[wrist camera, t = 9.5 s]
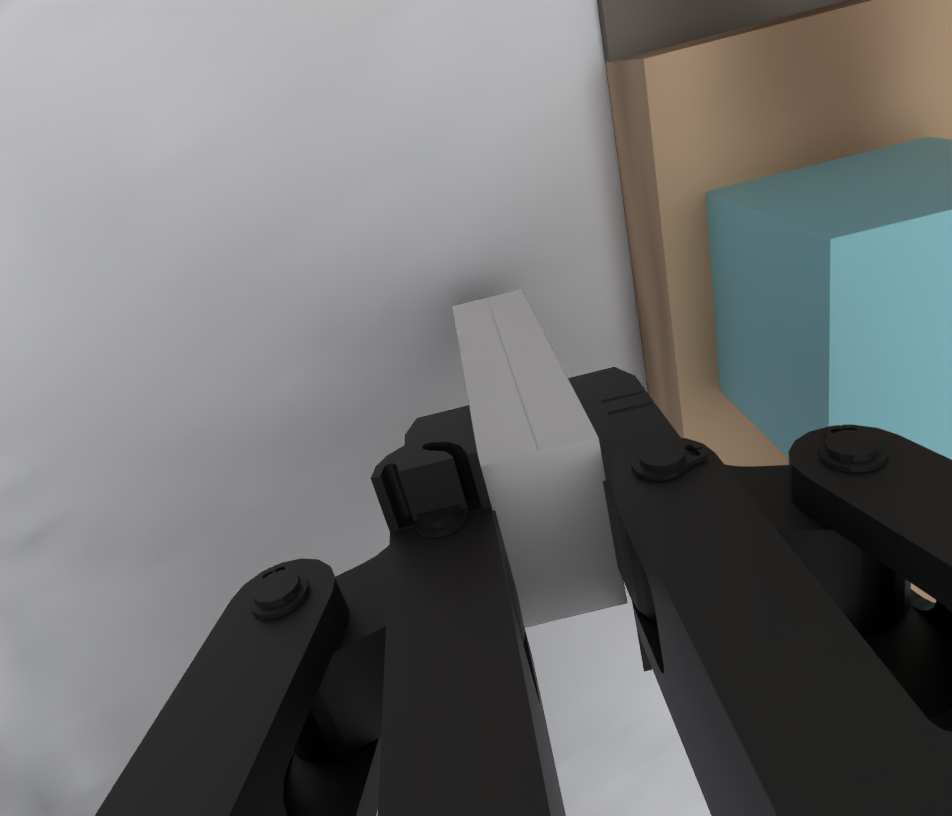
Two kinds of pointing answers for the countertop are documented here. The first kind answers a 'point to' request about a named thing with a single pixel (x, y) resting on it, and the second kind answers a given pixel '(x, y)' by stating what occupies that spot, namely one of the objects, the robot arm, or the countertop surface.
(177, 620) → the countertop surface
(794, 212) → the teal block
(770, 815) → the robot arm
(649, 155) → the trap board
